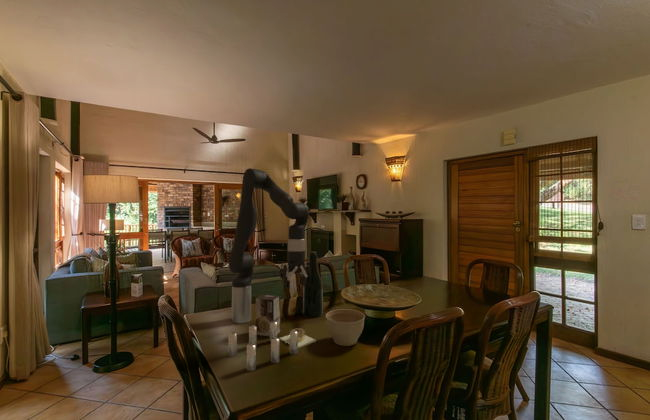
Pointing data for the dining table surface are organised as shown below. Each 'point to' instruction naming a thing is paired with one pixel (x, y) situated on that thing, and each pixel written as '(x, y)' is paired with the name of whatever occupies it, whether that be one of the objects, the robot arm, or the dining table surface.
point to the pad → (300, 343)
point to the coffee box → (267, 313)
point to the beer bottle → (313, 290)
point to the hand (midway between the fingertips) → (295, 287)
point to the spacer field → (253, 344)
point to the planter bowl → (345, 326)
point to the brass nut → (300, 334)
